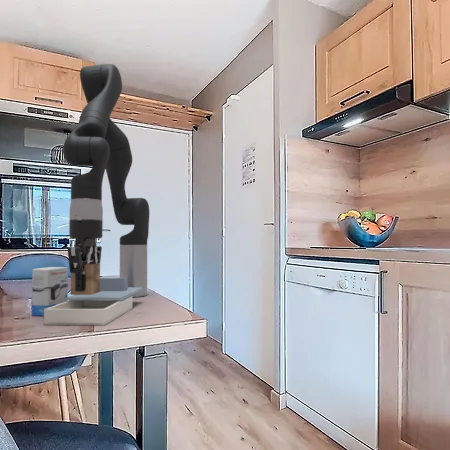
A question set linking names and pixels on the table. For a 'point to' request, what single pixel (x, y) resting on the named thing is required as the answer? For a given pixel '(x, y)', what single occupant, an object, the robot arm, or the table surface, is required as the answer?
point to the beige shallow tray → (86, 312)
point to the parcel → (88, 281)
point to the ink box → (48, 288)
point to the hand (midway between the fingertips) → (85, 289)
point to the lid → (110, 290)
